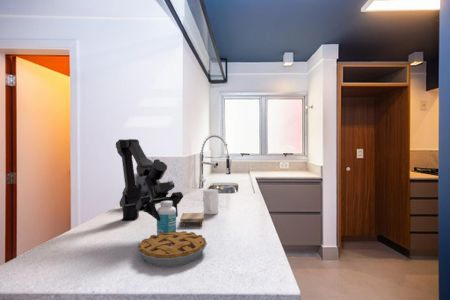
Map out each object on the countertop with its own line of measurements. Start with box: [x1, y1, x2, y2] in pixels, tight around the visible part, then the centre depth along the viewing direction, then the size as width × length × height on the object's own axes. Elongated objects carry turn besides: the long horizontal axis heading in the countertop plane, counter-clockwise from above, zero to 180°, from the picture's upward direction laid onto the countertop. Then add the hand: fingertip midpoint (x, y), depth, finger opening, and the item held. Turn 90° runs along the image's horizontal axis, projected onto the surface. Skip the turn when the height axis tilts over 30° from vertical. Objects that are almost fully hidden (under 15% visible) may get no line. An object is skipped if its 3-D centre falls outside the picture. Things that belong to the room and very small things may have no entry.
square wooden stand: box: [179, 212, 205, 227], centre depth 118 cm, size 10×10×4 cm
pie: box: [137, 230, 208, 268], centre depth 85 cm, size 22×22×5 cm
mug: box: [202, 188, 219, 215], centre depth 136 cm, size 8×12×12 cm
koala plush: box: [134, 172, 156, 206], centre depth 156 cm, size 17×18×20 cm
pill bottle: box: [156, 201, 177, 235], centre depth 102 cm, size 8×7×14 cm
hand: (168, 218), depth 101 cm, fingers closed on pill bottle, 7 cm apart
